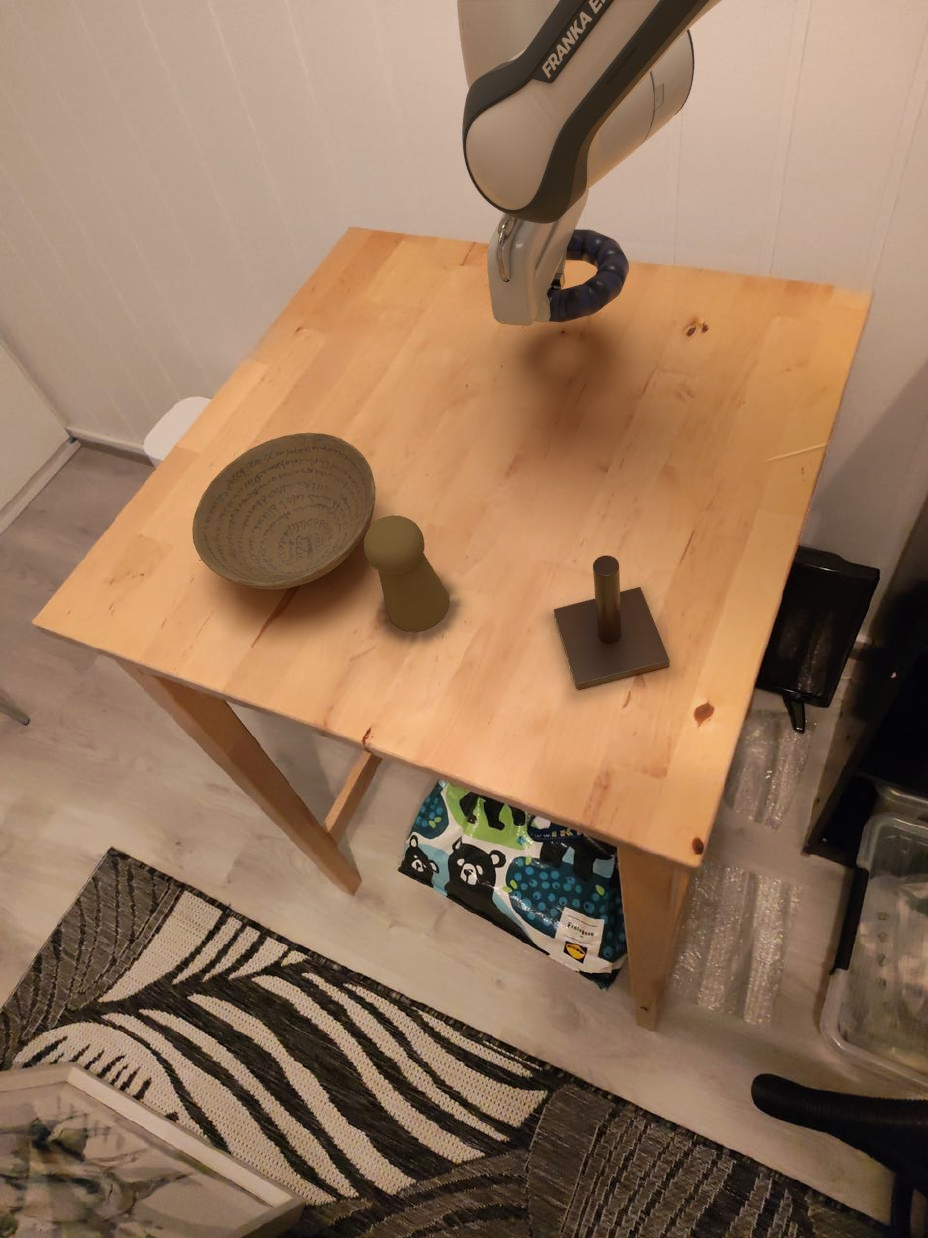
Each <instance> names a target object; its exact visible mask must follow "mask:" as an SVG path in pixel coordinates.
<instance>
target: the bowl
mask: <svg viewBox="0 0 928 1238" xmlns="http://www.w3.org/2000/svg"><path fill="white" fill-rule="evenodd" d="M375 504H376V483H375V478H374V473H373V470H372V468H371V466H370V463H369V462H368V460H367V459H366V457H365V456H364V454H363V453H362V452H361V451H360V450H359V449H358V448H357V447H356V446H355V445H353V444H351V443H349V442H347V441H346V440H344V439H342V438H341V437H340V438H339V437H338V436H334V435H331V434H326V433H321V432H320V433H319V432H318V433H317V432H301V433H294V434H293V433H292V434H287V435H283V436H282V435H281V436H279V437H276V438H273V439H272V438H271V439H269V440H266V441H265V442H262V443H260V444H258V445H255V446H253V447H252V448H250V449H248V450H247V451H244V452H243V453H242V454H240V455H239V456H238V457H236V458H234V460H232V461H231V462H230V463H228V464H226V466H225V467H224V468H223V469H222V470H221V471H220V472H219V473H218V474H217V475H216V476H214V478H213V479H212V480H211V481H210V483H209V484H208V486H207V487H206V489H205V491H204V492H203V494H202V495H201V498H200V499H199V502H198V505H197V507H196V510H195V513H194V515H193V516H194V517H193V520H192V528H191V529H192V542H193V545H194V548H195V551H196V552H197V555H198V556H199V558H200V560H201V561H202V562H203V563H204V564H205V565H206V566H207V568H209V570H210V571H211V572H213V573H215V574H216V575H217V576H219V577H221V578H223V579H225V580H227V581H229V582H231V583H233V584H236V585H240V586H243V587H247V588H252V589H259V590H260V589H261V590H280V589H283V590H284V589H289V588H290V589H291V588H295V587H299V586H302V585H305V584H308V583H310V582H313V581H316V580H318V579H320V578H321V577H324V576H325V575H327V574H329V573H330V572H332V571H334V569H336V568H337V567H339V566H340V565H341V564H342V563H343V562H345V560H346V559H348V558H349V556H350V555H352V554H353V552H354V550H355V549H356V548H357V547H358V546H359V544H360V543H361V541H362V540H363V538H364V537H365V535H366V533H367V531H368V529H369V526H370V524H371V521H372V519H373V514H374V510H375Z"/></svg>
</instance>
